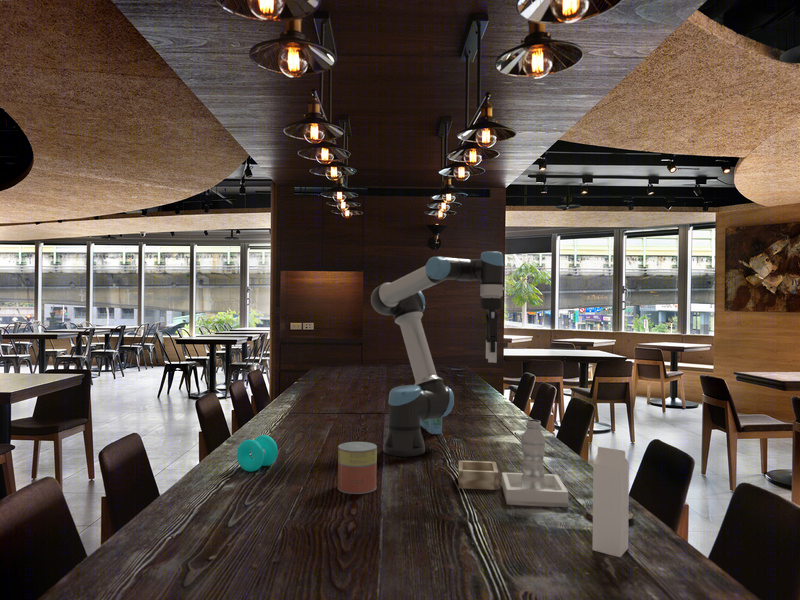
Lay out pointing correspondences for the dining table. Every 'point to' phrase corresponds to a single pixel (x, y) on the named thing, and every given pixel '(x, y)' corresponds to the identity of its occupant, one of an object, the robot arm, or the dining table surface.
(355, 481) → the canned food
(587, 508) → the patterned ceramic bowl
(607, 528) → the milk
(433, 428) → the gum box
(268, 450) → the turquoise yo-yo
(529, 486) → the plastic bottle
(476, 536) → the dining table surface
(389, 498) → the dining table surface
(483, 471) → the wooden collar
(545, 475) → the plastic tray
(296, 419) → the dining table surface
